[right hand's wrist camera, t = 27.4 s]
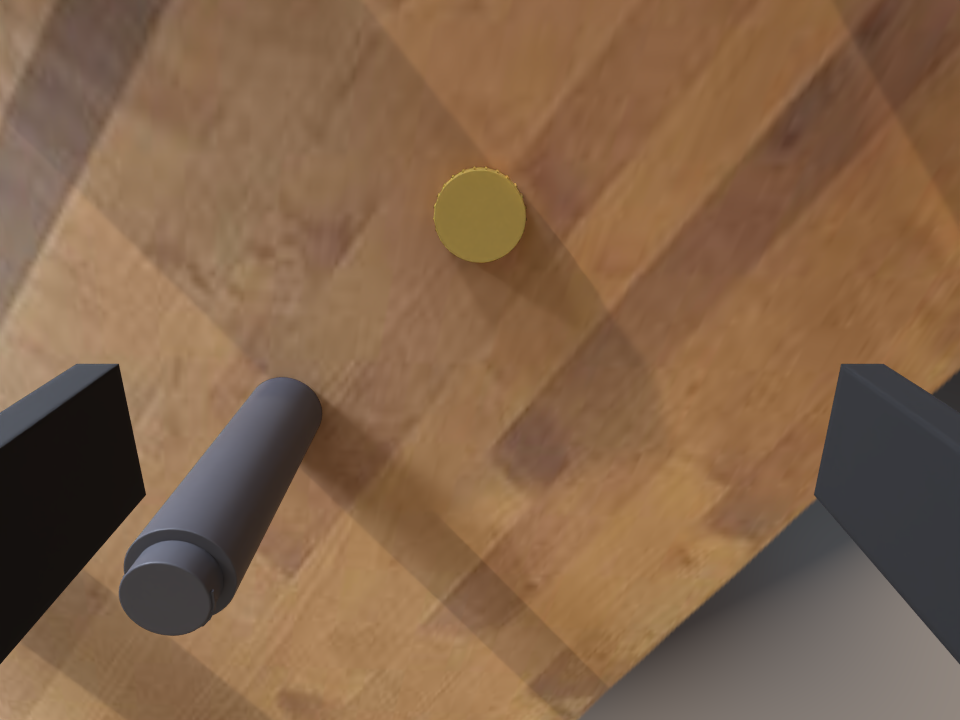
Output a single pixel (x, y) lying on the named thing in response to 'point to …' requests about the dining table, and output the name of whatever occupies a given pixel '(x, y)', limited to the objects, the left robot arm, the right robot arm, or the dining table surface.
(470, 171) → the lid
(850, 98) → the dining table surface
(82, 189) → the dining table surface
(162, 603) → the bottle
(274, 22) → the dining table surface
